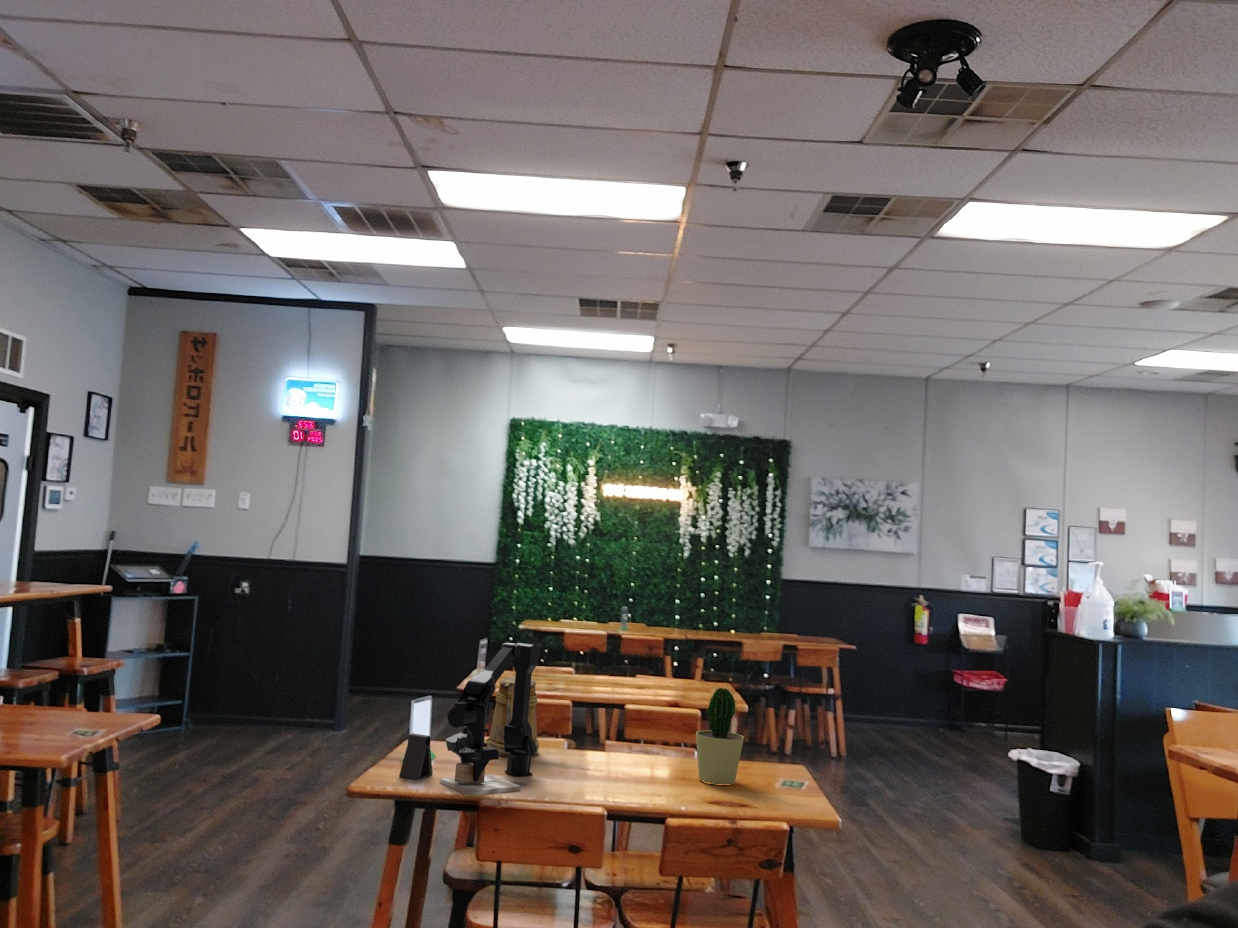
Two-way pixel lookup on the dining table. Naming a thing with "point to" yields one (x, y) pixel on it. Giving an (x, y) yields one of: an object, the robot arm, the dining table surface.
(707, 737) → the potted cactus
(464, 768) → the block
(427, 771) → the phone stand
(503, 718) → the tankard
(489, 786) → the board
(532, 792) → the dining table surface
